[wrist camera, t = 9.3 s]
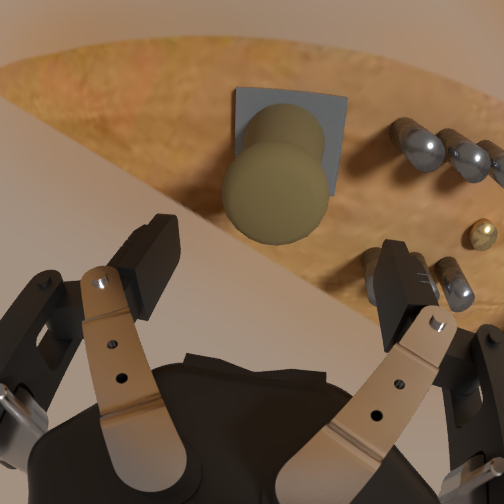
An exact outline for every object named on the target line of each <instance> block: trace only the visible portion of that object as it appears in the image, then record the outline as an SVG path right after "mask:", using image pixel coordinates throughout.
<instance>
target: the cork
mask: <svg viewBox="0 0 504 504" xmlns="http://www.w3.org/2000/svg"><path fill="white" fill-rule="evenodd" d="M324 146H325V138H324V133H323V129H322V127H321V125H320V124H319V122H318V120H317V119H316V118H315V117H314V116H313V115H312V114H311V113H310V112H308V111H307V110H306V109H304V108H301V107H299V106H297V105H294V104H284V103H280V104H275V105H270V106H267V107H266V108H264V109H262V110H260V111H259V112H257V113H256V114H255V116H254V117H253V118H252V119H251V120H250V121H249V124H248V126H247V129H246V131H245V136H244V144H243V151H241V152H240V153H239V154H238V155H237V157H236V158H235V159H234V160H233V161H232V162H231V164H230V165H229V167H228V168H227V171H226V174H225V176H224V179H223V182H222V203H223V206H224V209H225V212H226V215H227V217H228V218H229V220H230V221H231V222H232V224H233V225H234V226H235V228H236V229H237V230H239V231H240V232H241V233H243V234H244V235H245V236H247V237H248V238H249V239H252V240H254V241H257V242H259V243H262V244H268V245H284V244H290V243H293V242H296V241H298V240H300V239H302V238H304V237H307V236H308V235H309V234H310V233H311V232H312V231H313V230H315V229H316V228H317V227H318V225H319V224H320V222H321V220H322V218H323V217H324V215H325V213H326V210H327V206H328V201H329V195H330V193H329V188H328V182H327V177H326V174H325V172H324V170H323V168H322V167H321V162H322V157H323V153H324Z"/></svg>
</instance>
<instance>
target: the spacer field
mask: <svg viewBox="0 0 504 504" xmlns="http://www.w3.org/2000/svg"><path fill="white" fill-rule="evenodd" d="M390 138H391V140H392V142H393V143H394V145H395V146H396V147H397V148H398V149H399V150H400V151H401V152H402V153H403V154H404V156H405V157H406V158H407V159H408V160H409V161H410V162H411V163H412V165H413V166H414V167H415V168H416V169H418V170H419V171H422V172H431V171H434V170H436V169H437V168H438V167H439V166H440V165H441V164H442V162H443V160H445V161H446V162H448V163H449V164H450V165H451V166H452V167H453V168H454V169H455V170H456V171H457V172H458V173H459V174H460V175H461V176H462V177H463V178H464V179H466V180H467V181H468V182H470V183H478V182H481V181H482V180H484V179H485V178H486V176H487V175H489V176H490V177H491V178H493V179H494V180H495V181H496V182H497V183H498V184H499V185H500V186H501V187H503V188H504V150H503V149H502V148H500V147H499V146H497V145H495V144H494V143H492V142H491V141H489V140H483V141H481V142H479V143H478V144H477V145H476V144H475V143H473V142H472V141H471V140H469V139H468V138H466V137H464V136H463V135H461V134H460V133H458V132H457V131H455V130H453V129H449V128H448V129H444V130H442V131H440V132H439V133H438V135H437V136H435V135H434V134H433V133H431V132H430V131H428V130H427V129H426V128H424V127H423V126H421V125H420V124H418V123H417V122H416V121H414V120H412V119H410V118H407V117H403V118H399V119H397V120H396V121H395V122H394V123H393V124H392V126H391V128H390ZM380 252H381V248H370V249H368V250H367V251H365V252H364V253H363V255H362V257H361V264H362V269H363V274H364V279H365V283H366V288H367V293H368V299H369V302H370V303H371V304H372V305H374V306H376V307H377V305H376V299H375V294H374V289H373V276H374V271H375V268H376V265H377V262H378V258H379V255H380ZM409 254H410V255H412V256H415V257H416V258H417V259H418V260H419V261H420V262H421V263H422V264H423V266H424V268H425V271H426V273H427V276H428V278H429V281H430V283H431V286H432V288H433V291H434V293H435V296H436V299H437V301H438V300H439V296H440V294H439V291H438V289H437V286H436V284H435V282H434V279H433V277H432V275H431V273H430V270H429V268H428V266H427V264H426V261H425V259H424V257H423V256H422V255H421V254H420V253H417V252H413V253H409ZM435 274H436V276H437V278H438V281H439V283H440V285H441V287H442V290H443V292H444V294H445V297H446V299H447V302H448V304H449V306H450V309H451V310H452V311H453V312H462V311H464V310H466V309H468V308H469V307H470V306H471V305H472V303H473V302H474V299H475V296H474V293H473V291H472V289H471V287H470V285H469V283H468V281H467V280H466V278H465V276H464V274H463V272H462V270H461V268H460V266H459V265H458V263H457V261H456V259H455V258H453V257H445V258H443V259H441V260H440V261H439V262H438V263H437V264H436V266H435Z"/></svg>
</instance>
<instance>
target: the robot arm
mask: <svg viewBox="0 0 504 504" xmlns="http://www.w3.org/2000/svg"><path fill="white" fill-rule="evenodd" d="M180 251H181V248H180V238H179V228H178V219H177V216H175V215H170V214H156V215H155V216H154V218H153V219H152V220H151V221H150V223H149V224H148V225H145V224H144V225H142V226H141V227H139V228H138V229H136V230H134V231H133V233H132V234H131V235H130V236H129V237H128V240H126V241H125V242H124V244H123V246H121V247H120V249H119V250H118V251H117V253H116V254H115V255H114V256H113V258H112V259H111V260H110V261H109V263H108V264H107V265H106V266H99V267H95V268H93V269H91V270H89V271H88V272H86V273H85V274H84V275H83V277H82V279H81V280H79V281H67V282H63V279H62V276H61V274H60V273H59V272H58V271H56V270H46V271H43V272H40V273H38V274H37V275H36V276H34V277H33V278H32V279H31V280H30V282H29V283H28V284H27V285H26V287H25V288H24V289H23V291H22V292H21V293H20V294H19V296H18V297H17V298H16V300H15V301H14V302H13V304H12V305H11V306H10V308H9V309H8V310H7V312H6V313H5V315H4V316H3V317H2V319H1V320H0V463H1V464H2V465H4V466H5V467H7V468H9V469H19V470H20V471H22V472H24V473H26V474H27V475H28V487H29V497H28V504H504V333H503V332H502V331H501V330H500V329H499V328H497V327H495V326H493V325H490V324H484V325H482V326H480V327H479V329H478V330H477V332H476V333H472V332H470V331H467V330H464V329H461V328H458V327H457V323H456V320H455V318H454V317H453V315H452V314H451V313H450V312H448V311H447V310H445V309H444V308H442V307H439V304H438V301H437V299H436V296H435V293H434V291H433V288H432V286H431V283H430V281H429V278H428V276H427V273H426V271H425V268H424V266H423V264H422V263H421V262H420V261H419V260H418V259H417V258H416V257H415V256H412V255H410V254H409V251H408V249H407V247H406V244H405V242H403V241H396V240H389V239H386V240H385V241H384V242H383V245H382V248H381V252H380V255H379V258H378V262H377V265H376V268H375V271H374V276H373V289H374V294H375V299H376V305H377V310H378V316H379V321H380V327H381V333H382V338H383V345H384V351H385V352H387V353H388V354H387V356H386V357H385V358H384V360H383V361H382V362H381V364H380V365H379V366H378V367H377V369H376V370H375V371H374V372H373V373H372V375H371V376H370V377H369V378H368V380H367V381H366V382H365V383H364V385H363V386H362V387H361V388H360V389H359V390H358V392H357V393H356V394H355V395H354V396H352V395H350V394H349V393H347V392H346V391H344V390H343V389H341V388H339V387H337V386H335V385H332V384H330V383H327V382H326V372H317V371H308V370H298V369H286V370H275V371H263V372H252V371H250V370H247V369H244V368H242V367H239V366H236V365H234V364H231V363H229V362H226V361H224V360H221V359H217V358H211V357H206V356H200V355H195V354H189V353H186V356H185V359H184V361H183V363H174V364H168V365H164V366H161V367H158V368H155V369H153V370H151V369H150V367H149V364H148V361H147V359H146V356H145V353H144V351H143V348H142V345H141V342H140V339H139V337H138V333H137V330H136V327H135V325H134V323H135V322H136V320H137V319H140V320H146V321H148V320H149V318H150V316H151V314H152V312H153V310H154V308H155V306H156V304H157V302H158V300H159V298H160V297H161V295H162V293H163V291H164V289H165V287H166V285H167V283H168V281H169V280H170V278H171V276H172V274H173V272H174V270H175V268H176V266H177V264H178V262H179V259H180V253H181V252H180ZM45 324H46V325H47V327H48V330H47V332H46V333H45V335H44V337H43V338H42V340H41V342H40V343H39V345H38V347H36V340H37V336H38V334H39V333H40V331H41V330H42V328H43V326H44V325H45ZM82 339H84V340H85V346H86V351H87V357H88V362H89V367H90V372H91V377H92V381H93V385H94V390H95V393H96V398H97V402H98V403H96V404H95V405H93V406H91V407H89V408H87V409H86V410H84V411H82V412H81V413H79V414H77V415H76V416H74V417H72V418H70V419H69V420H67V421H65V422H64V423H62V424H60V425H58V426H57V427H55V428H53V429H51V430H50V431H48V429H47V428H48V416H47V414H46V412H47V410H48V408H49V406H50V403H51V401H52V399H53V397H54V395H55V392H56V391H57V388H58V386H59V384H60V382H61V380H62V378H63V376H64V374H65V372H66V370H67V368H68V366H69V364H70V362H71V360H72V358H73V356H74V354H75V352H76V350H77V348H78V347H79V345H80V343H81V341H82ZM431 384H432V385H435V386H439V387H442V392H443V398H444V406H445V414H446V422H447V431H448V442H449V454H450V473H448V475H447V476H446V477H445V478H444V480H443V483H442V486H441V491H440V493H439V498H438V496H437V495H436V493H435V492H434V491H433V490H432V488H431V487H430V486H429V485H428V484H427V483H426V481H425V480H424V479H423V478H422V477H421V475H420V474H419V473H418V472H417V471H416V470H415V468H414V467H413V466H412V465H411V464H410V463H409V461H408V460H407V459H406V458H405V457H404V455H403V454H402V453H401V452H400V451H399V450H398V448H397V447H396V446H395V445H394V443H395V442H396V441H397V439H398V438H399V436H400V435H401V433H402V432H403V430H404V429H405V427H406V426H407V424H408V423H409V421H410V420H411V418H412V416H413V415H414V413H415V412H416V410H417V408H418V407H419V405H420V403H421V402H422V400H423V398H424V397H425V395H426V393H427V391H428V390H429V388H430V386H431ZM479 386H481V391H482V395H483V403H482V401H481V397H480V392H479Z"/></svg>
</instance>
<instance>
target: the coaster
mask: <svg viewBox="0 0 504 504" xmlns="http://www.w3.org/2000/svg"><path fill="white" fill-rule="evenodd" d="M347 101H348V98H347V97H344V96H337V95H330V94H322V93H314V92H305V91H296V90H285V89H272V88H255V87H236V116H235V158H236V157H237V155H238V154H239V153H240V152H241V151H243V144H244V136H245V131H246V129H247V126H248V124H249V121H250V120H251V119H252V118H253V117H254V116H255V114H256V113H257V112H259V111H260V110H262V109H264V108H266V107H267V106H270V105H275V104H280V103H284V104H294V105H297V106H299V107H301V108H304V109H306V110H307V111H308V112H310V113H311V114H312V115H313V116H314V117H315V118H316V119H317V120H318V122H319V124H320V125H321V127H322V129H323V133H324V138H325V146H324V153H323V157H322V162H321V167H322V168H323V170H324V172H325V174H326V177H327V182H328V188H329V193H330V195H329V196H334V192H335V186H336V180H337V174H338V167H339V161H340V154H341V147H342V140H343V133H344V125H345V118H346V109H347Z"/></svg>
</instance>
